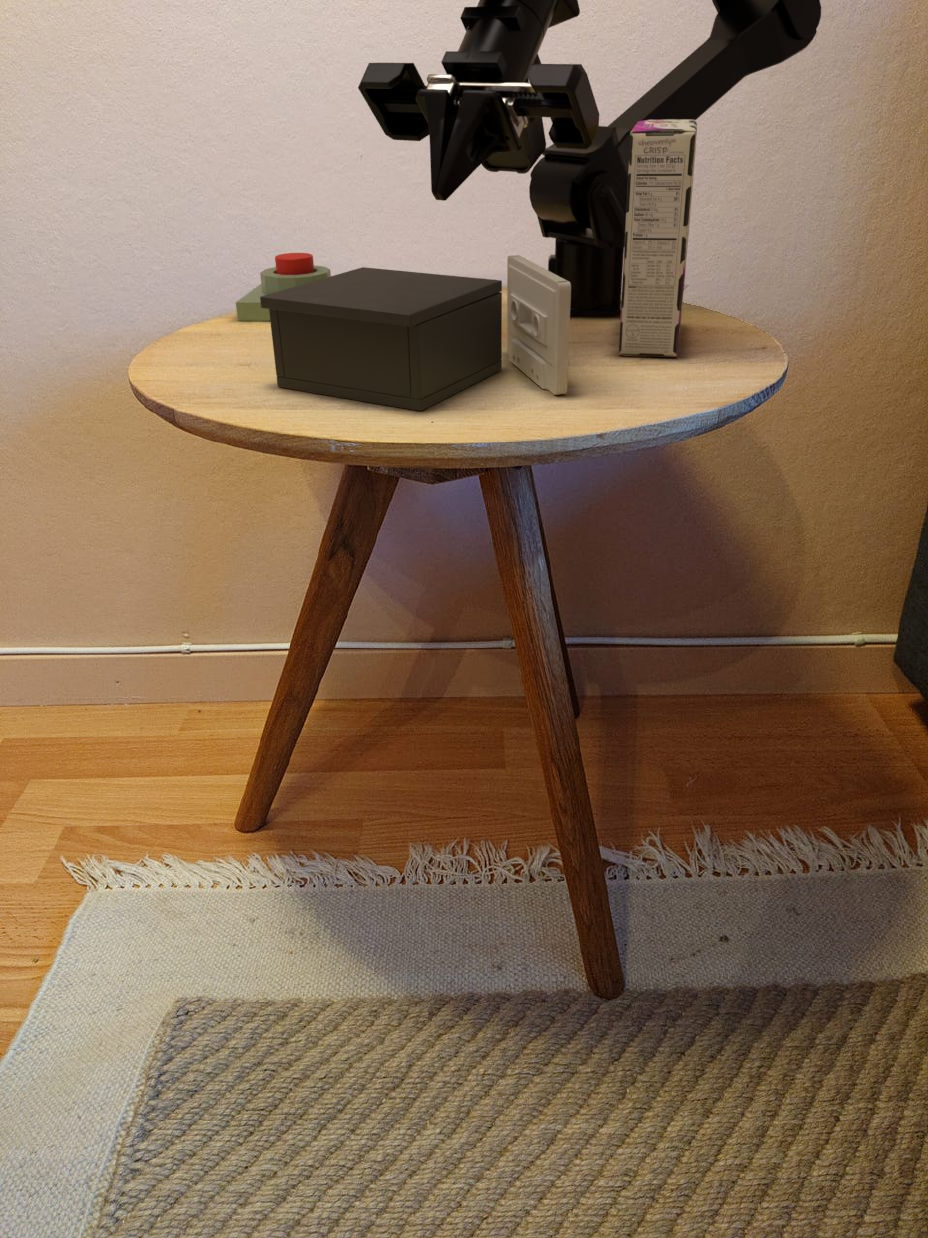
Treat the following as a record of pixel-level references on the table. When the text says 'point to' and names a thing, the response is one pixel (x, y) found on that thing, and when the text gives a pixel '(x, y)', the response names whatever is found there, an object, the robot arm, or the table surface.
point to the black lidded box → (389, 354)
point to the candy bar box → (656, 236)
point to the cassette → (538, 323)
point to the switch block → (273, 291)
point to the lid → (382, 295)
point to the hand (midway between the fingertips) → (438, 196)
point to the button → (294, 263)
